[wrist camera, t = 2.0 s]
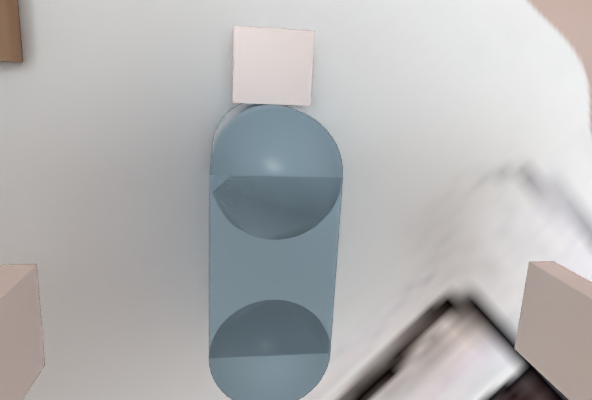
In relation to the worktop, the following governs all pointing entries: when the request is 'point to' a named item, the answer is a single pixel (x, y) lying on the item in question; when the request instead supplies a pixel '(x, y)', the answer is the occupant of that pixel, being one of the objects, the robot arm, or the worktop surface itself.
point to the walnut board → (10, 32)
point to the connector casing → (272, 224)
